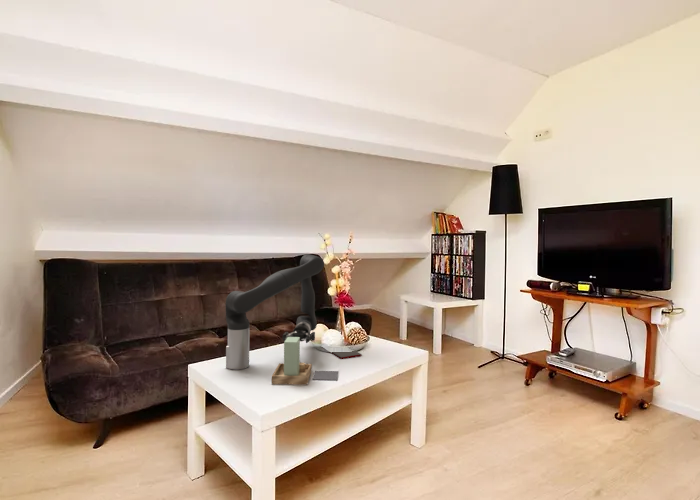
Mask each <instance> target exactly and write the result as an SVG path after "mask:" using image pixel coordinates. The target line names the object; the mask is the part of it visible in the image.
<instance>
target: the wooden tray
mask: <svg viewBox="0 0 700 500" xmlns="http://www.w3.org/2000/svg"><path fill="white" fill-rule="evenodd" d="M305 366H306V369H305V372H299V375H298V376H287V375H284V372H283V368H284V362H283V363H282V362H281V363H278V365H277V366H276V368H275V370H274V371H273V373H272V375H271V385H300V386H301V385H305V386H308V383H309V380H310V378H311V375H312V372H313V371H312V370H313V369H312V368H313V365H312V363H305Z"/></svg>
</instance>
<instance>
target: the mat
mask: <svg viewBox="0 0 700 500" xmlns="http://www.w3.org/2000/svg"><path fill="white" fill-rule="evenodd" d="M338 378H339V370H315V371H314V374H313V377H312V381H338Z"/></svg>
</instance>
